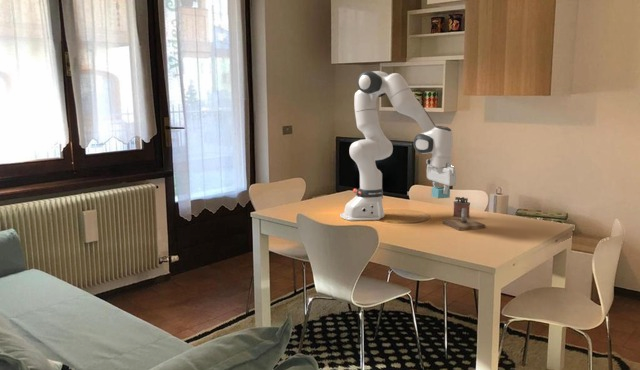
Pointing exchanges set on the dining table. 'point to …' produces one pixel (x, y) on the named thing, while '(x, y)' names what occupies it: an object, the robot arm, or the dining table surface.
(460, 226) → the post base
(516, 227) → the dining table surface
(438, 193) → the collar
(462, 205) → the lighter
